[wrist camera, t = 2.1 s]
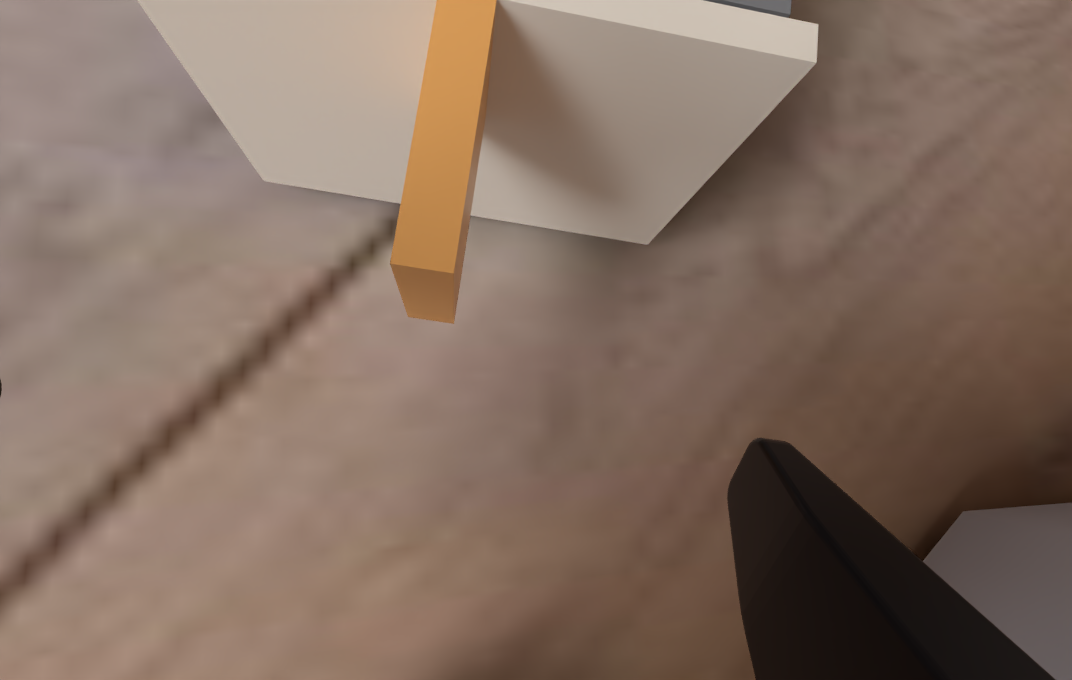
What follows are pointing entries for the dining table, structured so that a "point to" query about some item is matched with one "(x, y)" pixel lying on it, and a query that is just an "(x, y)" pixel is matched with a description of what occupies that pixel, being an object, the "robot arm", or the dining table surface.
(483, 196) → the white drawer unit
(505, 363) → the dining table surface
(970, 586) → the bottle
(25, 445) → the dining table surface
